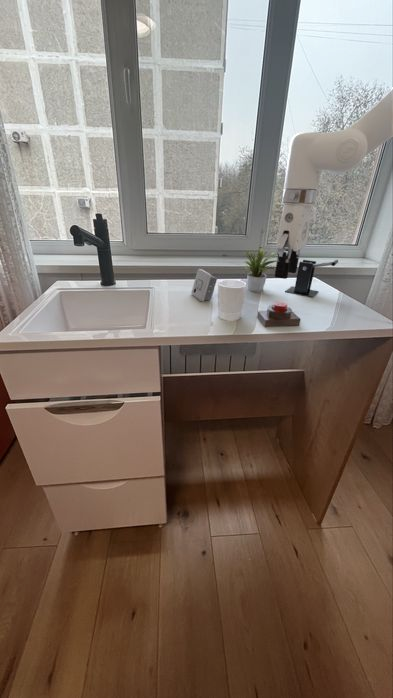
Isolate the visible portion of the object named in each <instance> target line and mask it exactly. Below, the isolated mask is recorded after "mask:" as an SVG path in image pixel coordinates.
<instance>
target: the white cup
mask: <svg viewBox="0 0 393 698" xmlns="http://www.w3.org/2000/svg"><path fill="white" fill-rule="evenodd" d="M246 289H247V283H246V282H244V281H242V280H238V279H223V280H220V281H217V310H218V311H217V316H218V318H219V319H220V320H224V321H226V322H227V321H229V322H233V321H234V322H235V321H238V320H240V319H241V318H242V312H243V309H244V308H243V307H244V302H245V295H246Z"/></svg>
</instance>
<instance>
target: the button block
mask: <svg viewBox="0 0 393 698" xmlns="http://www.w3.org/2000/svg"><path fill="white" fill-rule="evenodd" d="M273 306H274V304H270V305H269V306H267V309H266V310H258V311H257V315H256V318H257V319H258V321H259V322H260V323H261V325H262V326H263V327H264V328H281V327H282V328H284V327H287V328H288V327H300V324H301V317H299V316H298V315H297V314H296V313H294V312H293V309H292V308H291V307H289V306H287V309H286V311H283V312H280V311H275V310H273Z"/></svg>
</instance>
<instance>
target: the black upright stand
mask: <svg viewBox="0 0 393 698" xmlns="http://www.w3.org/2000/svg"><path fill="white" fill-rule="evenodd" d="M310 262H312V263H310ZM313 264H317V261H316V260H310V259H309V260H308V259H302V261H299V262H298V267H297V272H296V279H295V284H294V285H293V286H289V288H288V289H286V290H285V291H284V293H287V294H292V295H297V296H303V297H307V298H314V297H316V295H317V294H318V293H319V290H315V289H311V287H312V283H313V279H314V274H315V269H316V267H314V268H312V267H313Z"/></svg>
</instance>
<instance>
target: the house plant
mask: <svg viewBox="0 0 393 698" xmlns="http://www.w3.org/2000/svg"><path fill="white" fill-rule="evenodd" d="M270 249H271V247H270V248H268V249H266V250H265V252H263V250H264V249H263V248H261V246H260V245H259V247H258V248H257V255H255V253H254V252H253V251H252V249H251V250H250V249H249V252H248V251H246V252H243V254H244V255H245V256H246V257H247V259H248V260H249V261H244V263H245V264H247V265H244V267H243V269H244V270H243V271H246V270H249V271H251V272H249V273H247V274H246V278H247V290H248V291H250V292H263V290H264V287H265V285H266V284H265V283H266V280H267V277H268V275H267V274H265V273H266V272H267V270H275V265H270V264H273V263H277V260H270V259H275V258H276V256H277V257H278V254H276V253H277V251H275V252H272V253H270V254H269V255H268V256H267V257H265V256H266V254H267V253H268V252H269V251H270ZM274 254H275V255H274ZM264 258H265V259H264ZM263 259H264V260H263Z"/></svg>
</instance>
